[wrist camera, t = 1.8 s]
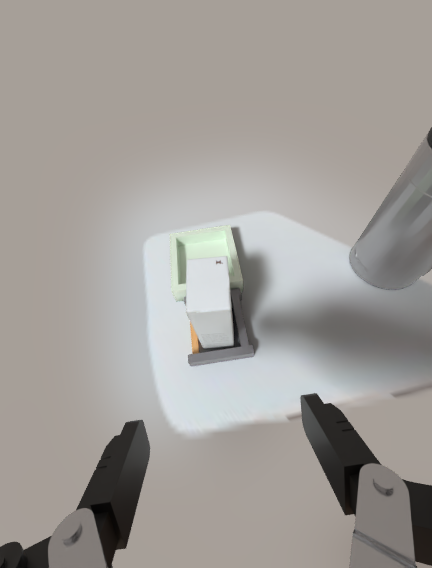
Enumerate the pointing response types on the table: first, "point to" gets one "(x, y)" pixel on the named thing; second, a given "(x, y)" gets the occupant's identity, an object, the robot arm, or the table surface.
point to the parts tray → (202, 255)
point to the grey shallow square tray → (225, 354)
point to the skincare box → (210, 301)
